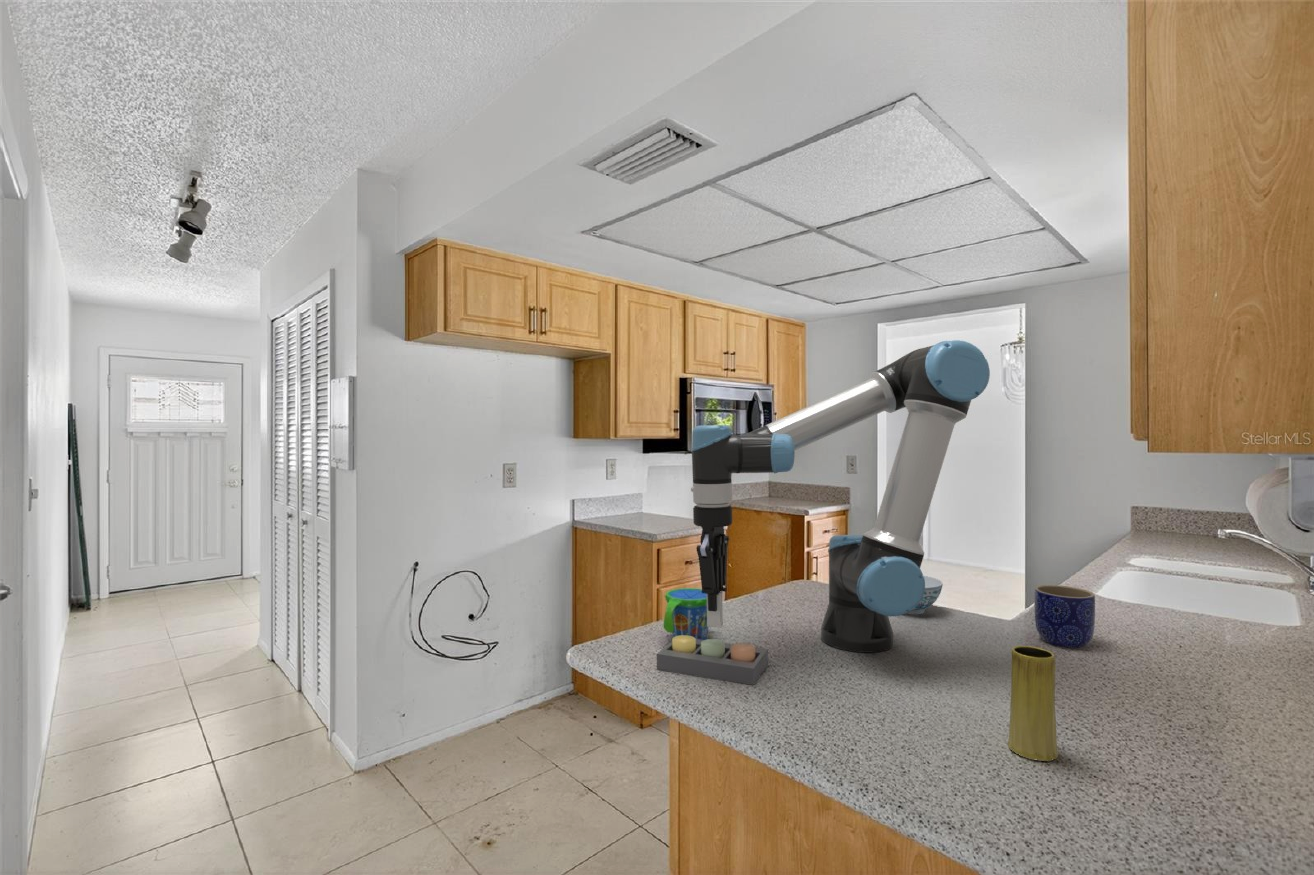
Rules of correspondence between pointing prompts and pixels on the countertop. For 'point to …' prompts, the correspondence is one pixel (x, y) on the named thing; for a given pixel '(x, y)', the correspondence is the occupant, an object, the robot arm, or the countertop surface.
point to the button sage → (713, 648)
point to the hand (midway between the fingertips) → (715, 626)
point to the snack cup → (686, 613)
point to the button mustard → (684, 644)
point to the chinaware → (928, 595)
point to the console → (713, 664)
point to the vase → (1033, 703)
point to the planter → (1064, 615)
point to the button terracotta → (743, 652)
